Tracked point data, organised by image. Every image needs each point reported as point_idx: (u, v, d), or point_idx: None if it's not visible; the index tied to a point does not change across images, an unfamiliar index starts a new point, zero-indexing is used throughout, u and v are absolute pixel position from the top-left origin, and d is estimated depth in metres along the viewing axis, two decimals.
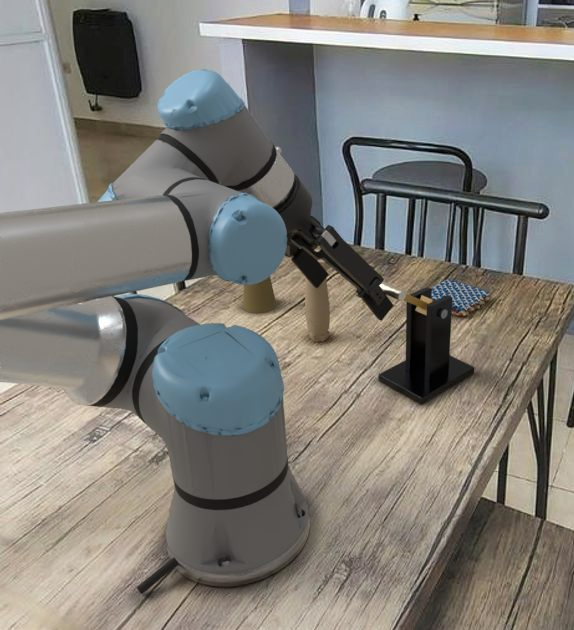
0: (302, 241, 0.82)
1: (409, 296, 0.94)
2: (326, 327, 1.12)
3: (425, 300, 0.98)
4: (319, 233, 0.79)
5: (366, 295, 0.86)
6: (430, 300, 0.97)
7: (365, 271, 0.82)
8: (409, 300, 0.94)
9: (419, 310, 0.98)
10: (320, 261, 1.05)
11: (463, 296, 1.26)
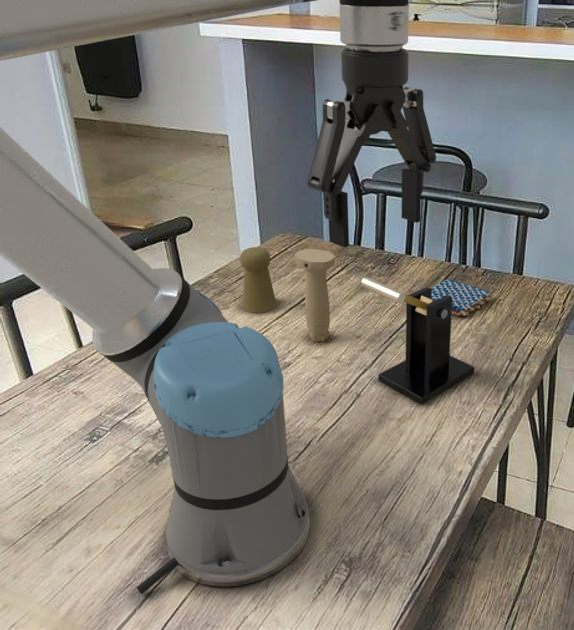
0: None
1: (409, 297, 0.94)
2: (326, 327, 1.12)
3: (425, 300, 0.98)
4: None
5: None
6: (430, 300, 0.97)
7: (320, 165, 0.75)
8: (409, 301, 0.94)
9: (419, 310, 0.98)
10: (320, 261, 1.05)
11: (463, 296, 1.26)
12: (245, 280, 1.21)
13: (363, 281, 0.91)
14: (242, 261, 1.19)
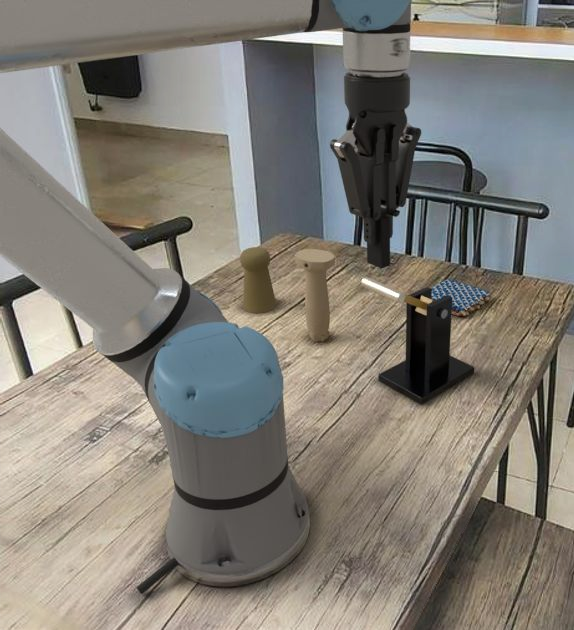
0: None
1: (409, 297, 0.94)
2: (326, 327, 1.12)
3: (425, 300, 0.98)
4: (341, 139, 0.77)
5: None
6: (430, 300, 0.97)
7: (354, 198, 0.80)
8: (409, 301, 0.94)
9: (419, 310, 0.98)
10: (320, 261, 1.05)
11: (463, 296, 1.26)
12: (245, 280, 1.21)
13: (363, 281, 0.91)
14: (242, 261, 1.19)
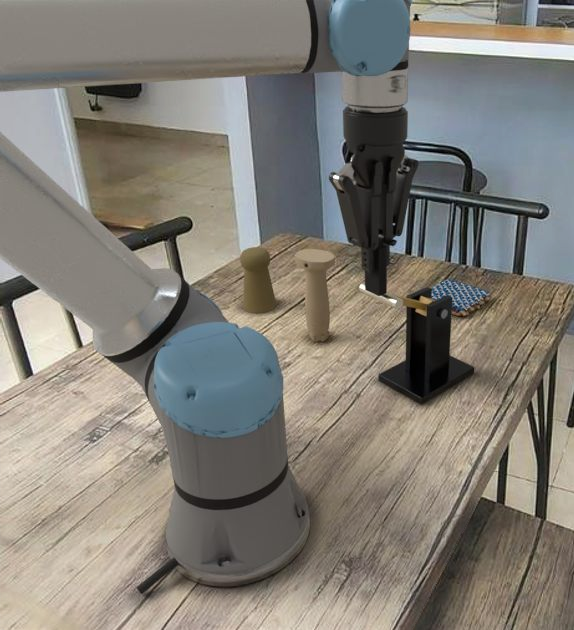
0: None
1: (407, 300, 0.94)
2: (326, 327, 1.12)
3: (424, 301, 0.98)
4: (339, 172, 0.78)
5: None
6: (429, 301, 0.97)
7: (352, 228, 0.82)
8: (408, 304, 0.94)
9: (419, 311, 0.98)
10: (320, 261, 1.05)
11: (463, 296, 1.26)
12: (245, 280, 1.21)
13: (361, 287, 0.92)
14: (242, 261, 1.19)
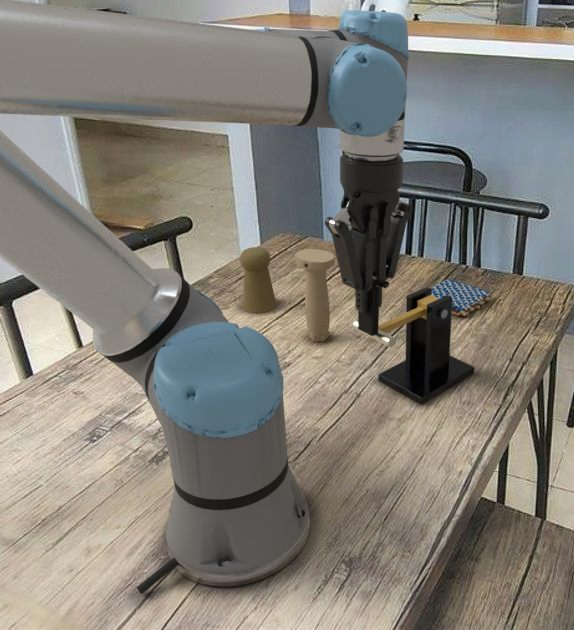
0: None
1: (403, 320, 0.95)
2: (326, 327, 1.12)
3: (422, 306, 0.98)
4: (335, 217, 0.80)
5: None
6: (426, 306, 0.97)
7: (347, 271, 0.84)
8: (404, 322, 0.95)
9: (420, 315, 0.99)
10: (320, 261, 1.05)
11: (463, 296, 1.26)
12: (245, 280, 1.21)
13: (354, 327, 0.93)
14: (242, 261, 1.19)
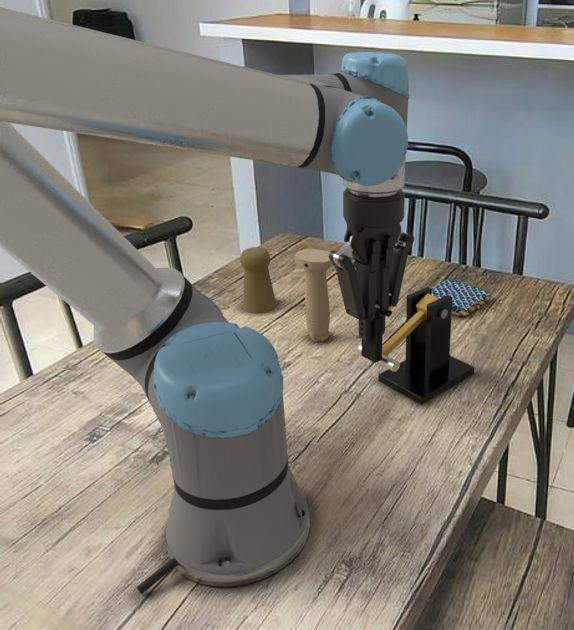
0: None
1: (404, 333, 0.96)
2: (326, 327, 1.12)
3: (421, 309, 0.98)
4: (339, 251, 0.82)
5: None
6: (425, 310, 0.97)
7: (350, 302, 0.86)
8: (407, 334, 0.96)
9: None
10: (320, 261, 1.05)
11: (463, 296, 1.26)
12: (245, 280, 1.21)
13: (359, 352, 0.96)
14: (242, 261, 1.19)
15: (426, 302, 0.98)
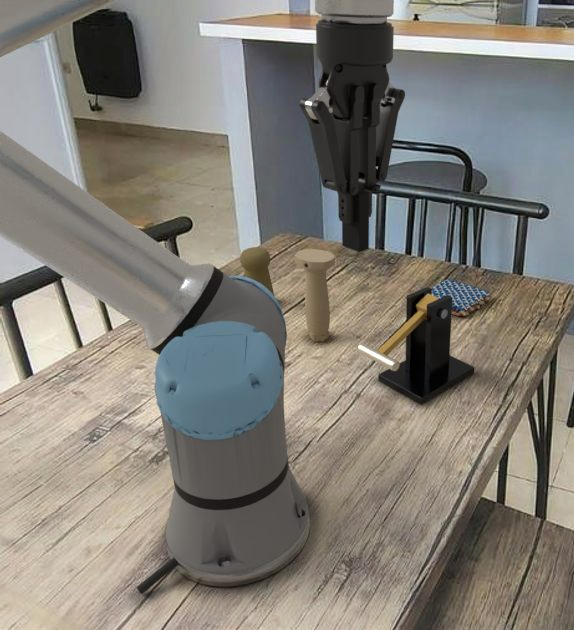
0: None
1: (404, 333, 0.96)
2: (326, 327, 1.12)
3: (421, 309, 0.98)
4: (313, 97, 0.65)
5: None
6: (425, 310, 0.97)
7: (327, 168, 0.69)
8: (407, 334, 0.96)
9: None
10: (320, 261, 1.05)
11: (463, 296, 1.26)
12: None
13: (359, 352, 0.96)
14: (242, 261, 1.19)
15: (426, 302, 0.98)
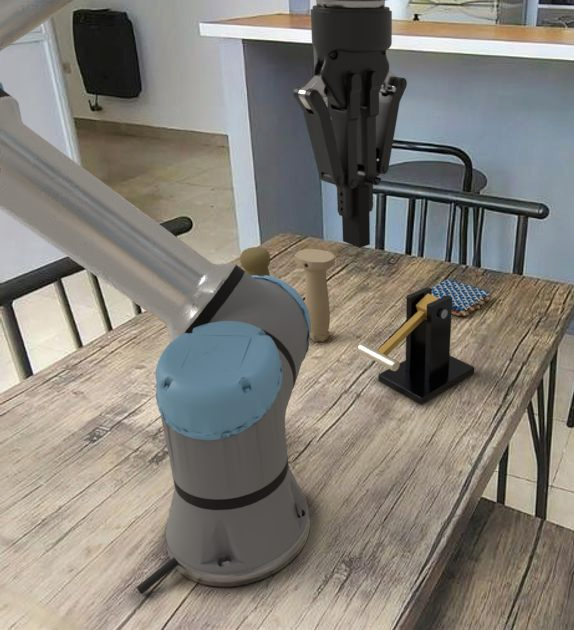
0: None
1: (404, 333, 0.96)
2: (326, 327, 1.12)
3: (421, 309, 0.98)
4: (306, 86, 0.62)
5: None
6: (425, 310, 0.97)
7: (324, 160, 0.66)
8: (407, 334, 0.96)
9: None
10: (320, 261, 1.05)
11: (463, 296, 1.26)
12: None
13: (359, 352, 0.96)
14: (242, 261, 1.19)
15: (426, 302, 0.98)
